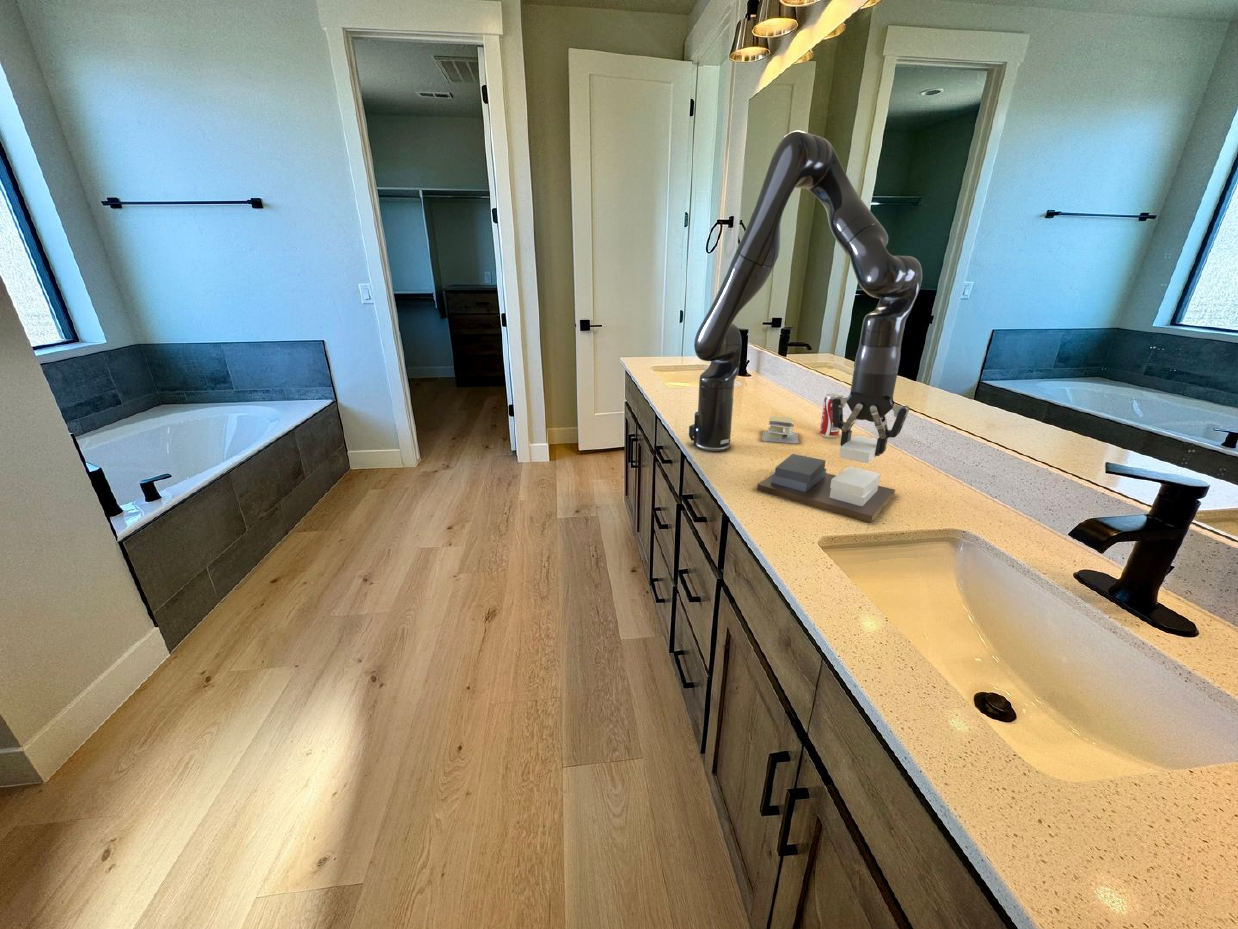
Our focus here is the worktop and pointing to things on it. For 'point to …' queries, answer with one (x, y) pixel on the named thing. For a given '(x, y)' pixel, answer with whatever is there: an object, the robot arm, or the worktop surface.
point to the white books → (854, 485)
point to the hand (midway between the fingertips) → (861, 451)
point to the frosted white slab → (859, 449)
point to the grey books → (799, 472)
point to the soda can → (828, 417)
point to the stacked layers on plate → (780, 430)
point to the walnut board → (821, 498)
